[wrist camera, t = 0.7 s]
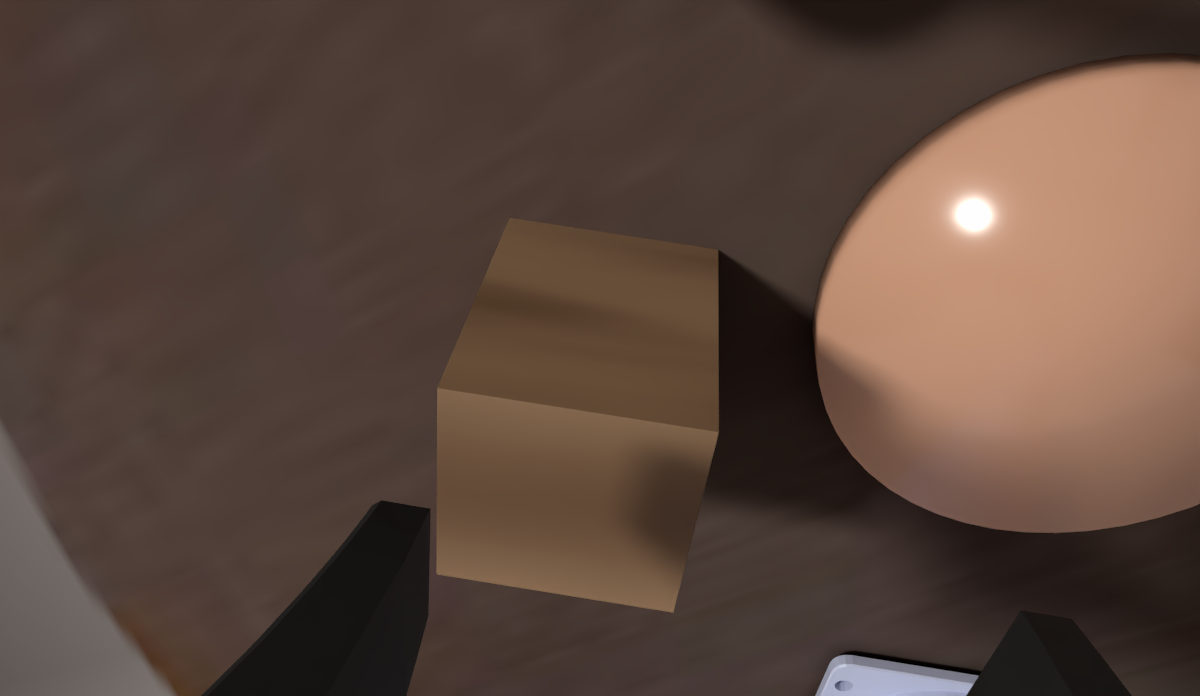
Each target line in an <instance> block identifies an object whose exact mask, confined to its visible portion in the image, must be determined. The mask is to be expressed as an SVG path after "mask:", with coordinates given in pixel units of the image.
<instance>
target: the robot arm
mask: <svg viewBox="0 0 1200 696" xmlns="http://www.w3.org/2000/svg"><path fill="white" fill-rule="evenodd" d="M429 553H430V509H428V508H422V507H416V506H411V505H405V504H399V503H393V502H387V501H382V500H381V501H379V502H378V503H376V504H374V505H372V507H371V508H370V509H369V511H368V512H367V513H366V515H365V516H364V517H363V519H362V520H361V521H360V522H359V524H358V525H357V526H356V528H355V529H354V530H353V531H352V533H351V534H350V535H349V536H348V538H347V539H346V540H345V541H344V543H343V544H342V545H341V546H340V548H339V549H338V550H337V551H336V552H335V554H334V555H333V556H332V557H331V558H330V560H329V561H328V562H327V563H326V564H325V566H324V567H323V568H322V569H321V570H320V571H319V572H318V574H317V575H316V576H315V577H314V578H313V579H312V581H311V582H310V583H309V584H308V585H307V586H306V588H305V589H304V590H303V591H302V592H301V593H300V594H299V595H298V596H297V597H296V599H295V600H294V601H293V602H292V603H291V604H290V605H289V606H288V607H287V608H286V609H285V610H284V612H283V613H282V614H281V615H280V616H279V617H278V618H277V619H276V620H275V621H274V622H273V624H272V625H271V626H270V627H269V628H268V629H267V630H266V631H265V632H264V633H263V634H262V635H261V637H260V638H259V639H258V640H257V641H256V642H255V643H254V644H253V645H252V646H251V647H250V648H249V649H248V650H247V651H246V652H245V653H244V654H243V655H242V656H241V657H240V658H239V659H238V660H237V661H236V662H235V663H234V664H233V665H232V666H231V667H230V668H229V669H228V670H227V671H226V672H225V673H224V674H223V675H222V676H221V677H220V678H219V679H218V680H217V681H216V682H215V683H214V684H213V685H212V686H211V687H210V688H209V689H208V690H207V691H206V692H205V693H204V694H203V695H202V696H406V694H407V691H408V687H409V684H410V680H411V677H412V673H413V670H414V666H415V663H416V659H417V655H418V652H419V648H420V644H421V640H422V637H423V633H424V629H425V626H426V622H427V618H428V602H429ZM815 696H1131V694H1130V693H1129V692H1128V690H1127V689H1126V688H1125V686H1124V685H1123V684H1122V683H1121V681H1120V680H1119V679H1118V677H1117V676H1116V675H1115V673H1114V672H1113V671H1112V670H1111V668H1110V667H1109V666H1108V664H1107V663H1106V662H1105V660H1104V659H1103V658H1102V657H1101V655H1100V654H1099V653H1098V651H1097V650H1096V649H1095V648H1094V646H1093V645H1092V644H1091V643H1090V641H1089V640H1088V639H1087V637H1086V636H1085V635H1084V634H1083V632H1082V631H1081V630H1080V629H1079V628H1078V626H1077V625H1076V624H1075V623H1074V621H1073V620H1072V619H1068V618H1062V617H1056V616H1050V615H1044V614H1039V613H1033V612H1027V611H1020V613H1019V614H1018V616H1017V618H1016V619H1015V621H1014V622H1013V624H1012V625H1011V627H1010V628H1009V630H1008V632H1007V633H1006V635H1005V636H1004V638H1003V639H1002V641H1001V642H1000V644H999V645H998V647H997V649H996V650H995V652H994V653H993V655H992V656H991V658H990V659H989V661H988V663H987V664H986V666H985V667H984V669H983V670H982V672H981V673H980V675H973V674H967V673H960V672H954V671H948V670H942V669H936V668H930V667H923V666H917V665H911V664H905V663H899V662H893V661H886V660H880V659H874V658H868V657H862V656H856V655H840V656H837V657H836V658H834V659H833V660H832V661H831V662H830V664H829V666H828V668H827V671H826V673H825V675H824V677H823V680H822V682H821V684H820V686H819V689H818V691H817V693H816V695H815Z"/></svg>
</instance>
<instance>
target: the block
mask: <svg viewBox="0 0 1200 696" xmlns="http://www.w3.org/2000/svg"><path fill="white" fill-rule="evenodd" d="M718 434H719V322H718V249H711V248H705V247H698V246H691V245H685V244H678V243H672V242H665V241H659V240H652V239H645V238H639V237H632V236H626V235H619V234H612V233H606V232H599V231H593V230H586V229H580V228H573V227H566V226H560V225H553V224H547V223H540V222H533V221H527V220H520V219H514V218H509V221H508V223H507V225H506V228H505V230H504V232H503V235H502V237H501V239H500V242H499V244H498V246H497V249H496V251H495V254H494V256H493V258H492V261H491V263H490V265H489V268H488V270H487V272H486V275H485V277H484V279H483V282H482V284H481V286H480V289H479V291H478V294H477V296H476V298H475V301H474V303H473V305H472V308H471V310H470V312H469V315H468V317H467V319H466V322H465V324H464V326H463V329H462V331H461V334H460V336H459V338H458V341H457V343H456V345H455V348H454V350H453V352H452V355H451V357H450V359H449V362H448V364H447V367H446V369H445V371H444V374H443V376H442V378H441V381H440V383H439V385H438V388H437V574H439V575H445V576H451V577H457V578H463V579H469V580H476V581H482V582H488V583H494V584H500V585H507V586H513V587H519V588H525V589H531V590H537V591H544V592H550V593H556V594H562V595H568V596H574V597H581V598H587V599H593V600H599V601H605V602H611V603H618V604H624V605H630V606H636V607H642V608H648V609H655V610H661V611H667V612H673V611H674V607H675V603H676V599H677V595H678V591H679V587H680V583H681V580H682V576H683V572H684V568H685V564H686V560H687V556H688V552H689V548H690V544H691V540H692V536H693V532H694V528H695V524H696V520H697V517H698V513H699V509H700V505H701V501H702V497H703V493H704V489H705V485H706V481H707V477H708V473H709V469H710V465H711V461H712V458H713V454H714V450H715V446H716V442H717V438H718Z"/></svg>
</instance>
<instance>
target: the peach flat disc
mask: <svg viewBox="0 0 1200 696" xmlns="http://www.w3.org/2000/svg"><path fill="white" fill-rule="evenodd" d="M812 333H813V343H814V354H815V362H816V368H817V375H818V381H819V386H820V390H821V394H822V397H823V401H824V405H825V408H826V411H827V414H828V416H829V418H830V420H831V422H832V424H833V426H834V429H835V431H836V433H837V434H838V436H839V437H840V439H841V440H842V442H843V443H844V445H845V446H846V448H847V449H848V451H849V452H850V454H851V455H852V456H853V457H854V458H855V459H856V460H857V461H858V462H859V463H860V464H861V465H862V466H863V468H864V469H865V470H866V471H867V472H868V473H869V474H871V475H872V476H873V477H874V478H876V479H877V480H878V481H879V482H881V483H882V484H883V485H884V486H886V487H887V488H888V489H890V490H891V491H893V492H895V493H896V494H898V495H900V496H901V497H903V498H905V499H906V500H908V501H910V502H911V503H913V504H916V505H918V506H920V507H922V508H925V509H927V510H929V511H931V512H934V513H936V514H938V515H942V516H945V517H948V518H951V519H954V520H957V521H960V522H964V523H968V524H973V525H977V526H982V527H987V528H992V529H999V530H1008V531H1017V532H1033V533H1064V532H1080V531H1092V530H1099V529H1106V528H1112V527H1119V526H1125V525H1129V524H1134V523H1138V522H1142V521H1147V520H1151V519H1155V518H1159V517H1162V516H1165V515H1169V514H1172V513H1175V512H1178V511H1181V510H1184V509H1188V508H1191V507H1193V506H1196V505H1198V504H1200V56H1199V55H1186V54H1173V53H1168V54H1148V55H1127V56H1121V57H1115V58H1109V59H1103V60H1097V61H1091V62H1085V63H1081V64H1077V65H1074V66H1070V67H1067V68H1063V69H1060V70H1056V71H1053V72H1049V73H1046V74H1042V75H1039V76H1037V77H1034V78H1032V79H1029V80H1027V81H1024V82H1022V83H1019V84H1017V85H1014V86H1012V87H1009V88H1007V89H1004V90H1002V91H999V92H997V93H995V94H994V95H992V96H990V97H988V98H986V99H984V100H982V101H980V102H979V103H977V104H975V105H973V106H971V107H969V108H967V109H965V110H964V111H962V112H960V113H958V114H957V115H955V116H954V117H953V118H951V119H950V120H948V121H947V122H945V123H944V124H942V125H941V126H939V127H938V128H936V129H935V130H933V131H932V132H930V133H929V134H928V135H926V136H925V137H924V138H922V139H921V140H920V141H919V142H918V143H916V144H915V145H914V146H913V147H912V148H911V149H909V150H908V151H907V152H906V153H905V154H904V155H902V156H901V157H900V158H899V159H898V160H897V161H895V162H894V163H893V164H892V165H891V167H890V168H889V169H888V170H887V171H886V172H885V173H884V174H883V175H882V176H881V177H880V178H879V179H878V181H877V182H876V183H875V184H874V185H873V186H872V187H871V188H870V189H869V190H868V192H867V193H866V194H865V196H864V197H863V198H862V200H861V201H860V203H859V204H858V205H857V207H856V208H855V209H854V211H853V212H852V214H851V215H850V216H849V218H848V219H847V221H846V223H845V225H844V226H843V228H842V230H841V232H840V234H839V235H838V237H837V239H836V241H835V243H834V245H833V246H832V248H831V251H830V254H829V256H828V259H827V261H826V264H825V267H824V269H823V272H822V274H821V277H820V282H819V286H818V291H817V295H816V300H815V304H814V317H813V332H812Z"/></svg>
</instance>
